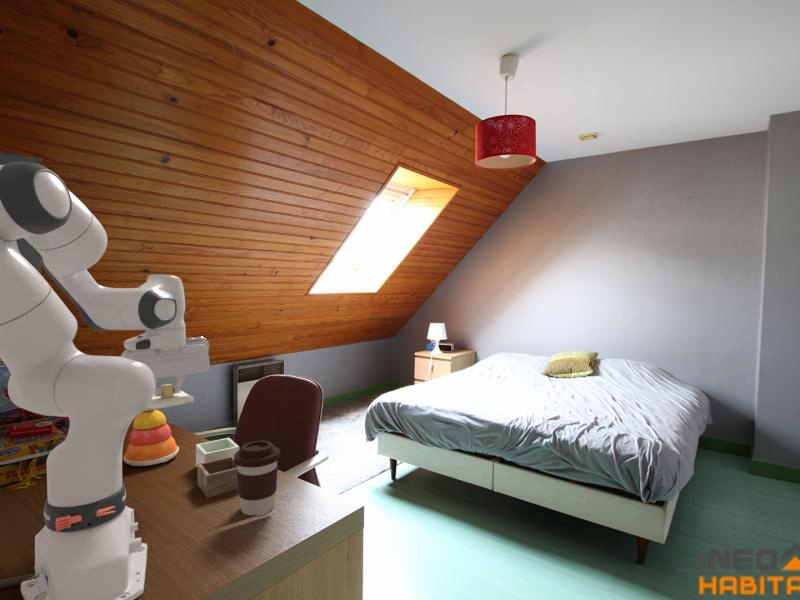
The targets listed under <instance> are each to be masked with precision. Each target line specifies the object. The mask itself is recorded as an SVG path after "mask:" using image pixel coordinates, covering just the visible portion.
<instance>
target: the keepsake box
mask: <svg viewBox="0 0 800 600" xmlns="http://www.w3.org/2000/svg"><path fill="white" fill-rule="evenodd" d="M196 469H197V485H198V487H199V489H200V490H201V491H202V493H203V494H204V495H205V497H206V498H207V499H209V498H212V497H215V496H219V495H222V494H223V495H224V494H226V493H230V492H234V491H238V481H237V469H238V468H237V465H236V464H235V463H234V456H230V457H226V458H221V459H217V460H213V461H208V462H204V463H200V464H197V467H196ZM216 472H217V473H216Z"/></svg>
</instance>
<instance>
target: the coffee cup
mask: <svg viewBox="0 0 800 600" xmlns="http://www.w3.org/2000/svg"><path fill="white" fill-rule="evenodd" d="M280 457H281V450H280V448H279V447H277V446H275V445H274V444H273V442H271V441H268V440H254V441H250V442H246V443H244V444H243V445H241V448H239V451H237V452H236V453H235V455H234V463H235V464H236V465H237V468H238V469H237V481H238V490H237V491H238V492H237V493H238V496H239V500H240V501H239V502H240V512H242V513H243V514H244V515H248V516H252V518H260V517H264V516H266V515H268V514H270V513H271V512H273V510H272V509H274V507H275V503H276V491H277V486H278V485H277V484H278V483H277V482H278V468H279V467H278V466H279V465H278V460H280Z"/></svg>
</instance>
